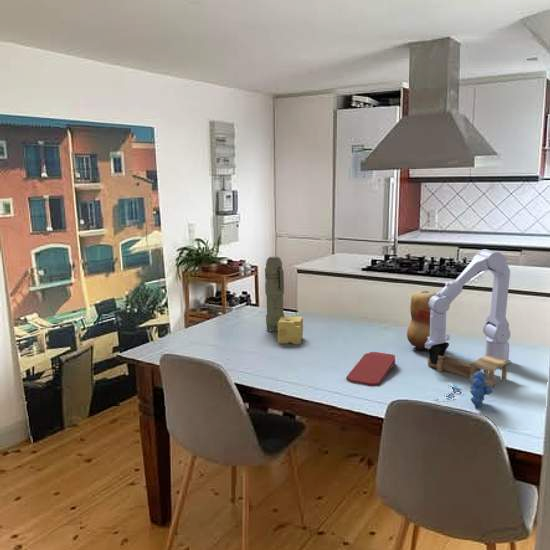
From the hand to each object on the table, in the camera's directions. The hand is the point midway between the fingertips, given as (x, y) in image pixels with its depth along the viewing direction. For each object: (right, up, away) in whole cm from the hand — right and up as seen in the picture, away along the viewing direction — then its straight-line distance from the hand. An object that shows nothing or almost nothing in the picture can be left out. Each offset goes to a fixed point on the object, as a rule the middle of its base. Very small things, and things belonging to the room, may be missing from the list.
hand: (436, 362), depth 203 cm
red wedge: (-25, -4, -3) cm, 25 cm away
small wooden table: (+14, -4, -14) cm, 20 cm away
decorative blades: (-3, -7, -24) cm, 25 cm away
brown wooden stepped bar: (+5, -2, -5) cm, 7 cm away
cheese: (-55, +3, +38) cm, 66 cm away
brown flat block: (+14, -5, -14) cm, 20 cm away
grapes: (+3, -9, -35) cm, 36 cm away
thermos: (-61, +7, +56) cm, 83 cm away
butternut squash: (+1, +2, +21) cm, 22 cm away
